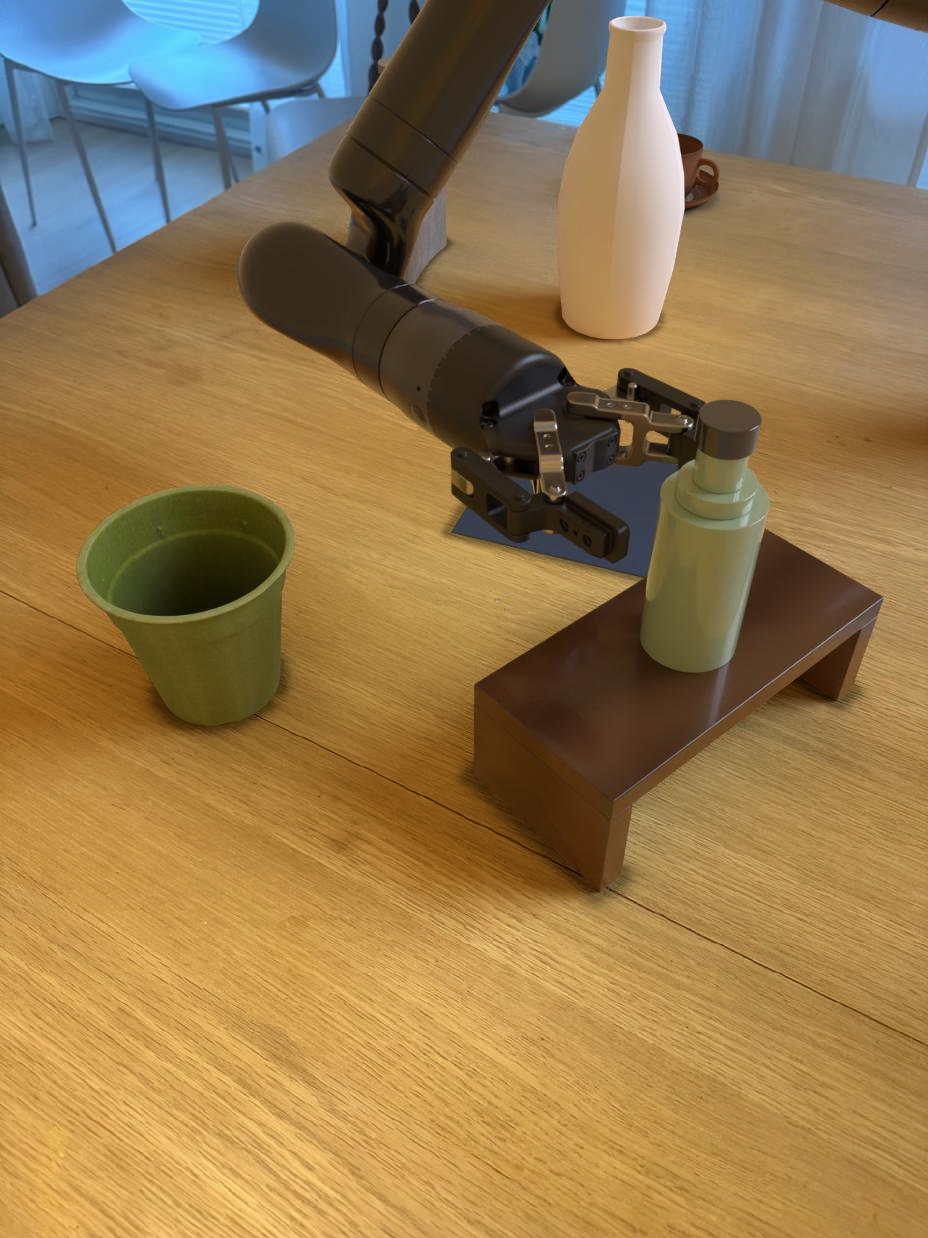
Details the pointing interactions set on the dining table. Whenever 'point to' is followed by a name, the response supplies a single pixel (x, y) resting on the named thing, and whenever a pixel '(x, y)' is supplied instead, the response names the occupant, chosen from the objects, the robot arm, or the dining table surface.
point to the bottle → (621, 194)
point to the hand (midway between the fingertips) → (683, 511)
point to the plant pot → (196, 594)
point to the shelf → (652, 701)
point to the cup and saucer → (697, 172)
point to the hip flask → (426, 227)
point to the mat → (612, 489)
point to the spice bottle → (706, 545)
